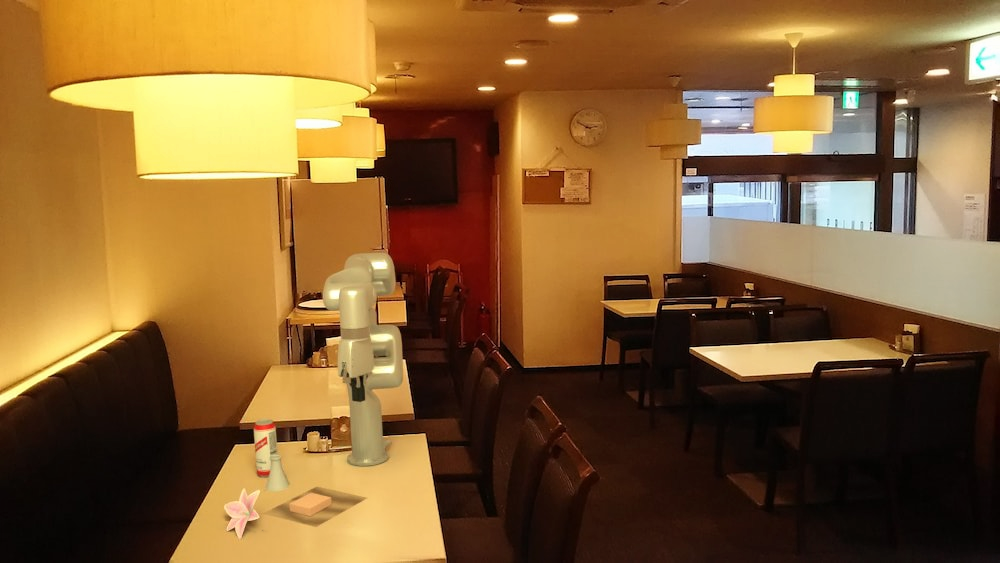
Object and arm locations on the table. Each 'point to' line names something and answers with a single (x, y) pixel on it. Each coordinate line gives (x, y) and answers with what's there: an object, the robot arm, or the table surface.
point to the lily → (242, 511)
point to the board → (338, 506)
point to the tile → (310, 504)
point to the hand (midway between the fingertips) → (358, 400)
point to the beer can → (264, 445)
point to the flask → (276, 475)
